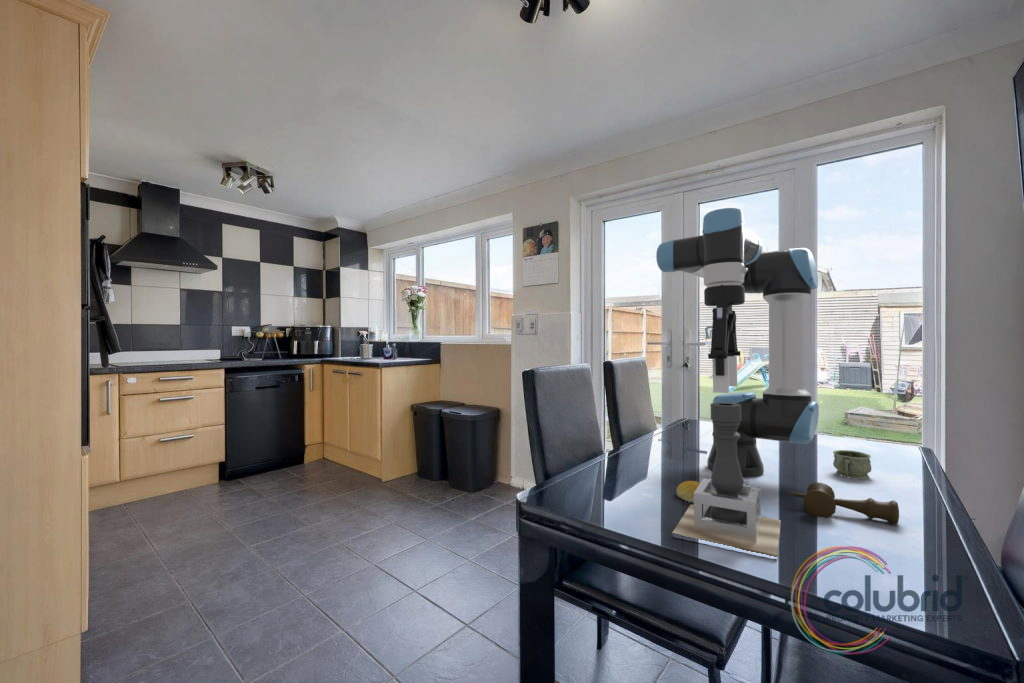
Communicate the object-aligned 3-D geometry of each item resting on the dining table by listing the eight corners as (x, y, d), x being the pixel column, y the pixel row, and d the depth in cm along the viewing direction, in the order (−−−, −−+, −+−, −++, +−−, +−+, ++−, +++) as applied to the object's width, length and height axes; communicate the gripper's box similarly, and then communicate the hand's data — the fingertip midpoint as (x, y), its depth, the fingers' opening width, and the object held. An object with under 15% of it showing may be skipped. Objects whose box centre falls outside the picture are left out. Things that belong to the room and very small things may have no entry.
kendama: (901, 535, 89) (785, 511, 101) (896, 520, 97) (788, 500, 109) (901, 505, 89) (785, 485, 101) (896, 493, 97) (789, 475, 109)
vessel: (839, 468, 134) (839, 447, 134) (877, 474, 127) (876, 452, 127) (827, 476, 126) (826, 454, 126) (865, 483, 120) (865, 460, 120)
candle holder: (710, 529, 90) (707, 405, 90) (712, 518, 95) (710, 401, 95) (744, 534, 87) (742, 407, 87) (745, 523, 92) (742, 403, 92)
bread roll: (699, 491, 116) (699, 476, 116) (720, 503, 107) (719, 487, 107) (669, 493, 115) (669, 477, 115) (687, 505, 106) (687, 488, 106)
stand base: (690, 508, 103) (690, 504, 103) (780, 524, 94) (780, 520, 94) (672, 537, 88) (672, 532, 88) (777, 560, 78) (777, 555, 78)
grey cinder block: (704, 512, 98) (703, 478, 99) (760, 522, 92) (760, 486, 93) (694, 530, 89) (693, 492, 89) (756, 542, 83) (755, 502, 83)
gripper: (737, 277, 79) (739, 397, 79) (750, 289, 100) (752, 384, 100) (692, 281, 83) (694, 394, 83) (713, 292, 104) (715, 383, 104)
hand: (725, 389), depth 91 cm, fingers open, 13 cm apart
